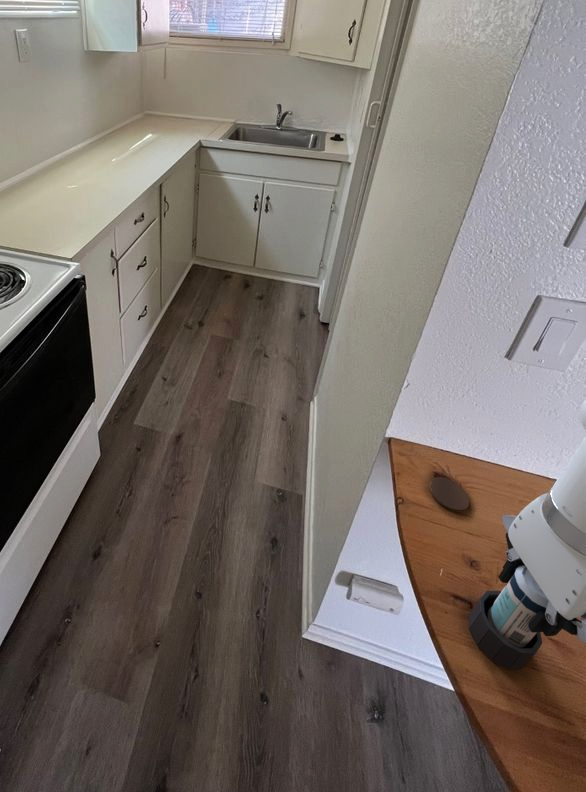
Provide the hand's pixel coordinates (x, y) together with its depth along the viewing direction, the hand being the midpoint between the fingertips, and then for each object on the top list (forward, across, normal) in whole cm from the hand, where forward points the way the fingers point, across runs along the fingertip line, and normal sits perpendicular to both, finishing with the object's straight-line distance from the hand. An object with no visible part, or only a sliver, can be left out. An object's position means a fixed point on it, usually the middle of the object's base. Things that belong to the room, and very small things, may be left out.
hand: (525, 602), depth 57 cm
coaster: (+10, +21, -5) cm, 24 cm away
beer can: (+7, 0, 0) cm, 7 cm away
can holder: (+9, 0, +1) cm, 10 cm away
